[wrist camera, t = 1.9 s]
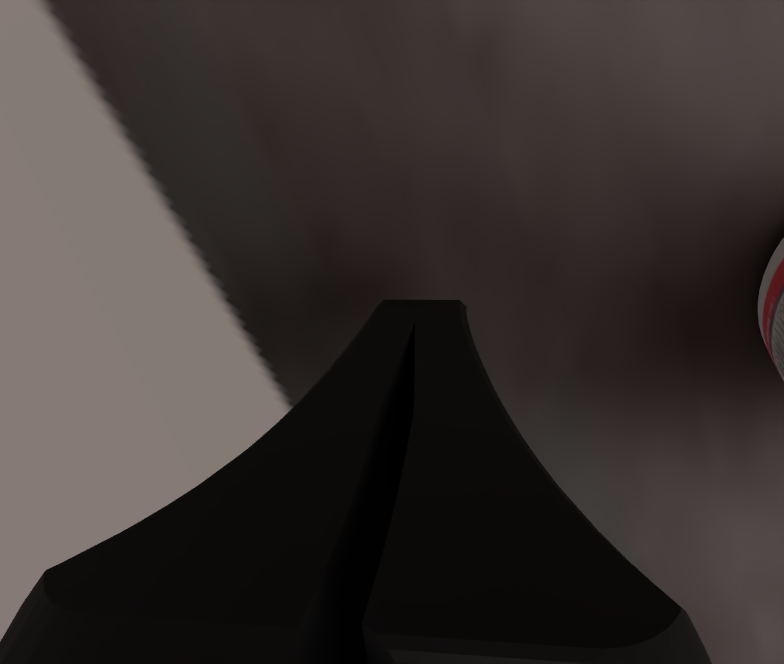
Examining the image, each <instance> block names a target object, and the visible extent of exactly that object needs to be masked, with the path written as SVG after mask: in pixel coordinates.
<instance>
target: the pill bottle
mask: <svg viewBox="0 0 784 664" xmlns="http://www.w3.org/2000/svg"><path fill="white" fill-rule="evenodd" d="M758 321H759V326H760V331H761V334H762V337H763V340H764V343H765V345H766V347H767V349H768V351H769V354H770V356H771V359H772V361H773V363H774V365H775V366H776V368H777V370H778V372H779V374H780V375H781V377H782V379H783V381H784V237H783V239H782V240H781V242H780V243H779V245H778V247H777V248H776V250H775V251H774V253H773V255H772V257H771V259H770V261H769V263H768V265H767V268H766V270H765V273H764V275H763V279H762V283H761V286H760V290H759V297H758Z"/></svg>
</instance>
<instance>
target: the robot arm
mask: <svg viewBox="0 0 784 664" xmlns="http://www.w3.org/2000/svg"><path fill="white" fill-rule="evenodd" d="M0 664H712V663H711V661H710V659H709V656H708V654H707V652H706V650H705V647H704V645H703V643H702V641H701V640H700V638H699V636H698V634H697V632H696V630H695V628H694V626H693V624H692V622H691V620H690V618H689V616H688V614H687V612H686V611H685V610H684V609H683V608H681V607H680V606H679V605H678V604H677V603H676V602H674V601H673V600H672V599H671V598H670V597H669V596H667V595H666V594H665V593H664V592H663V591H662V590H660V589H659V588H658V587H657V586H656V585H655V584H653V583H652V582H651V581H650V580H649V579H648V578H647V577H646V576H645V575H643V574H642V573H641V572H640V571H639V570H638V569H637V568H636V567H635V566H634V565H632V564H631V563H630V562H629V561H628V560H627V559H626V558H625V557H624V556H623V555H622V554H621V553H620V552H619V551H618V550H617V549H616V548H615V547H614V546H613V545H612V544H611V543H610V542H609V541H608V540H607V539H606V538H605V537H604V536H603V535H602V534H601V533H600V532H599V531H598V530H597V529H596V528H595V527H594V526H593V524H592V523H591V522H590V521H589V520H588V519H587V518H586V517H585V515H584V514H583V513H582V512H581V511H580V510H579V509H578V508H577V506H576V505H575V504H574V503H573V502H572V501H571V500H570V498H569V497H568V496H567V495H566V494H565V493H564V492H563V491H562V489H561V488H560V487H559V486H558V485H557V484H556V482H555V481H554V480H553V478H552V477H551V476H550V475H549V473H548V472H547V471H546V469H545V468H544V467H543V465H542V464H541V463H540V461H539V460H538V459H537V457H536V456H535V455H534V453H533V452H532V450H531V449H530V447H529V446H528V445H527V443H526V442H525V440H524V439H523V437H522V436H521V434H520V433H519V431H518V429H517V428H516V426H515V425H514V423H513V421H512V420H511V418H510V416H509V415H508V413H507V411H506V409H505V408H504V406H503V404H502V402H501V401H500V399H499V397H498V395H497V393H496V391H495V389H494V387H493V385H492V383H491V381H490V379H489V377H488V375H487V373H486V370H485V368H484V366H483V364H482V362H481V360H480V357H479V355H478V352H477V350H476V347H475V344H474V341H473V338H472V335H471V332H470V329H469V325H468V320H467V314H466V306H465V305H464V304H463V303H462V302H461V301H460V300H383V301H382V302H381V303H380V304H379V305H378V306H377V307H376V309H375V310H374V312H373V313H372V315H371V316H370V317H369V319H368V320H367V322H366V323H365V324H364V326H363V327H362V328H361V330H360V331H359V333H358V334H357V335H356V336H355V338H354V339H353V340H352V342H351V343H350V344H349V346H348V347H347V348H346V349H345V350H344V352H343V353H342V354H341V355H340V356H339V358H338V359H337V360H336V361H335V362H334V364H333V365H332V366H331V367H330V368H329V370H328V371H327V372H326V373H325V374H324V375H323V377H322V378H321V379H320V380H319V381H318V382H317V383H316V384H315V385H314V386H313V387H312V388H311V389H310V390H309V392H308V393H307V394H306V395H305V396H304V397H303V398H302V399H301V400H300V401H299V402H298V403H297V404H296V405H295V406H294V407H293V408H292V409H291V410H290V411H289V412H288V413H287V414H286V415H285V416H284V417H283V418H282V419H281V420H280V421H279V422H278V423H277V424H276V425H275V426H273V427H272V428H271V429H270V430H269V431H268V432H267V433H266V434H264V435H263V436H262V437H261V438H260V439H259V440H257V441H256V442H255V443H254V444H253V445H252V446H250V447H249V448H248V449H247V450H245V451H244V452H243V453H242V454H240V455H239V456H238V457H236V458H235V459H234V460H232V461H231V462H230V463H228V464H227V465H225V466H224V467H223V468H221V469H220V470H219V471H217V472H216V473H215V474H213V475H212V476H211V477H209V478H208V479H206V480H205V481H204V482H202V483H201V484H199V485H198V486H196V487H195V488H193V489H192V490H190V491H189V492H187V493H186V494H184V495H183V496H181V497H179V498H178V499H176V500H175V501H173V502H172V503H170V504H169V505H167V506H165V507H164V508H162V509H160V510H158V511H157V512H155V513H153V514H152V515H150V516H149V517H147V518H145V519H144V520H142V521H140V522H138V523H137V524H135V525H133V526H131V527H130V528H128V529H126V530H124V531H122V532H121V533H119V534H117V535H115V536H113V537H111V538H109V539H107V540H105V541H103V542H101V543H99V544H97V545H95V546H94V547H91V548H90V549H88V550H86V551H84V552H82V553H80V554H78V555H76V556H74V557H72V558H70V559H68V560H66V561H64V562H62V563H60V564H58V565H56V566H54V567H52V568H50V569H48V570H46V571H45V572H44V573H43V575H42V576H41V578H40V579H39V581H38V582H37V584H36V585H35V586H34V588H33V589H32V591H31V592H30V594H29V595H28V597H27V598H26V599H25V601H24V603H23V604H22V605H21V607H20V609H19V611H18V612H17V614H16V616H15V618H14V619H13V621H12V623H11V624H10V626H9V628H8V629H7V631H6V633H5V635H4V636H3V638H2V640H1V641H0Z"/></svg>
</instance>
